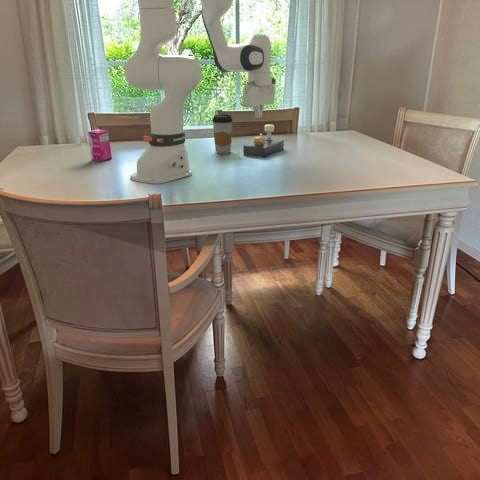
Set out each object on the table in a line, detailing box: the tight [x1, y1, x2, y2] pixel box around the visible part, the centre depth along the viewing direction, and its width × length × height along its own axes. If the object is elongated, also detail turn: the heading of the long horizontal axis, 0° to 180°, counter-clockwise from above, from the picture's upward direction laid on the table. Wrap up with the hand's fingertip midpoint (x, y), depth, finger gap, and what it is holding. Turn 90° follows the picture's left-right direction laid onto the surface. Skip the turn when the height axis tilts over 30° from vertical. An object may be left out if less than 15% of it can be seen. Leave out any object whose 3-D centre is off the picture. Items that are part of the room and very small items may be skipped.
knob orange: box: [253, 136, 265, 146], centre depth 184 cm, size 4×4×7 cm
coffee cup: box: [211, 113, 234, 155], centre depth 186 cm, size 8×8×15 cm
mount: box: [242, 137, 285, 159], centre depth 188 cm, size 17×10×4 cm, turn 149°
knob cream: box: [264, 124, 275, 142], centre depth 190 cm, size 4×4×7 cm
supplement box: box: [87, 128, 113, 163], centre depth 176 cm, size 6×6×12 cm
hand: (258, 117), depth 179 cm, fingers closed
